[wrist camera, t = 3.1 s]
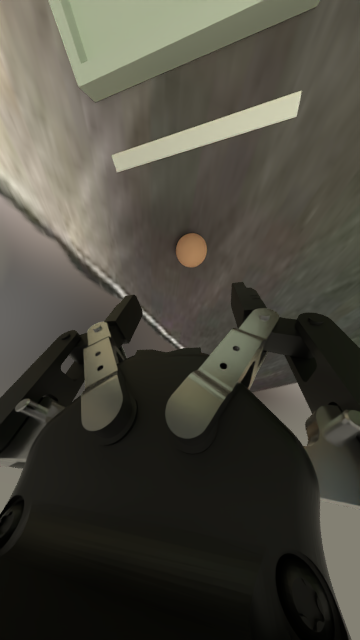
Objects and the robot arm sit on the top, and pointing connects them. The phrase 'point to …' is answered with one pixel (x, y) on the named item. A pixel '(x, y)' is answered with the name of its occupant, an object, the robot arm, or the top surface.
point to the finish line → (210, 132)
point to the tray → (155, 35)
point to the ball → (191, 250)
